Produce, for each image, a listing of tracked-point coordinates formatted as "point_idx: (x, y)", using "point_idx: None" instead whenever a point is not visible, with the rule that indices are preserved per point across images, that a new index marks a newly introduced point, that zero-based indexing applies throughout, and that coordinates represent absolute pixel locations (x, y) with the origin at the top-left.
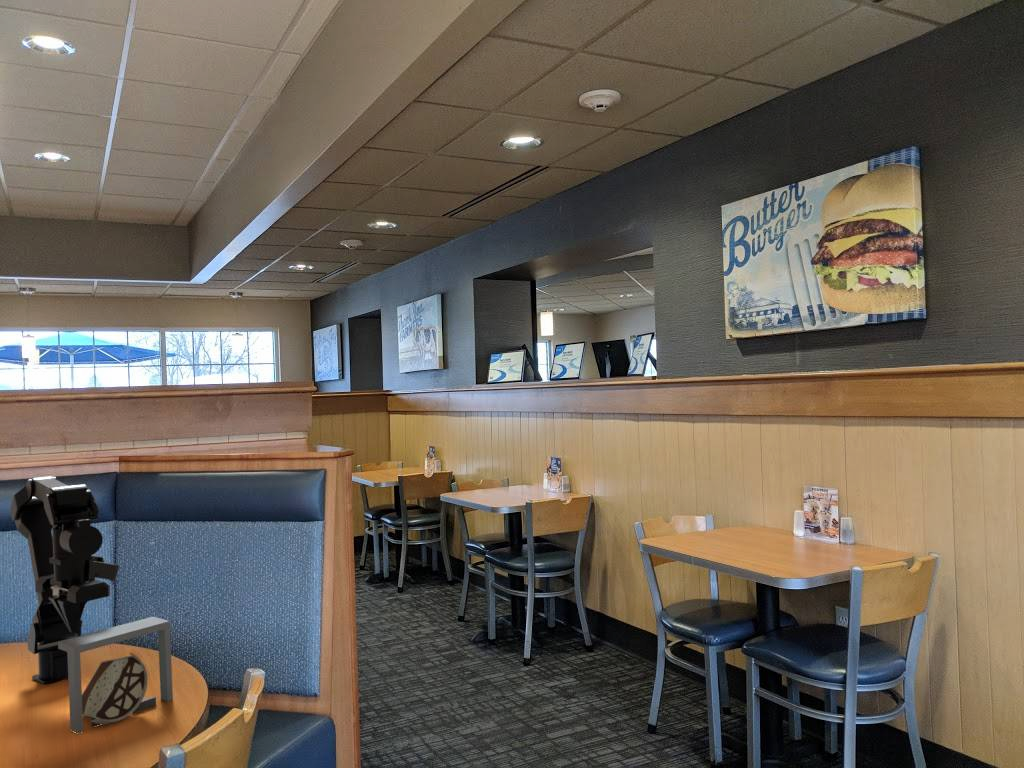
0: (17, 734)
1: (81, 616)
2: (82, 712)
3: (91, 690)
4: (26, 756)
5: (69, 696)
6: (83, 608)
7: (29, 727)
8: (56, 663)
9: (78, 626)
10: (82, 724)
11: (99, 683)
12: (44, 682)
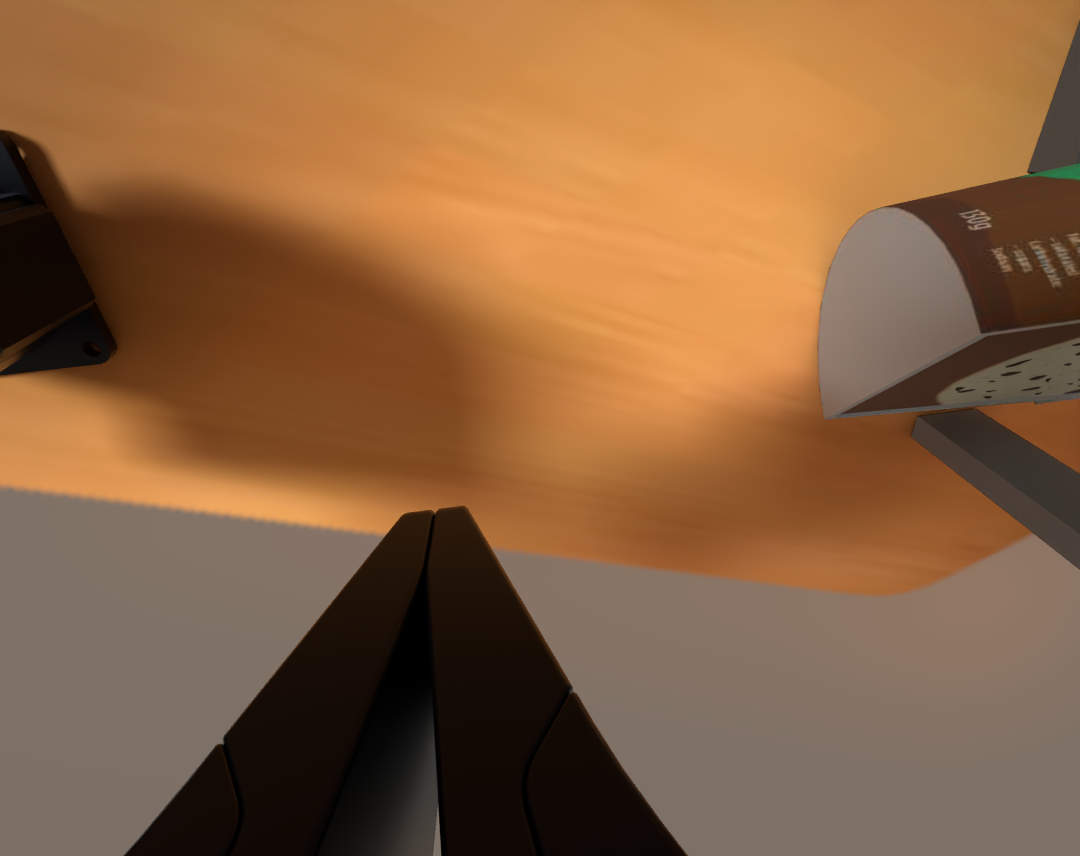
0: (734, 557)
1: (547, 649)
2: (1048, 454)
3: (948, 383)
4: (940, 568)
5: (1036, 532)
6: (674, 843)
7: (709, 522)
8: (26, 336)
9: (484, 538)
10: (1003, 428)
11: (1029, 366)
12: (105, 360)
